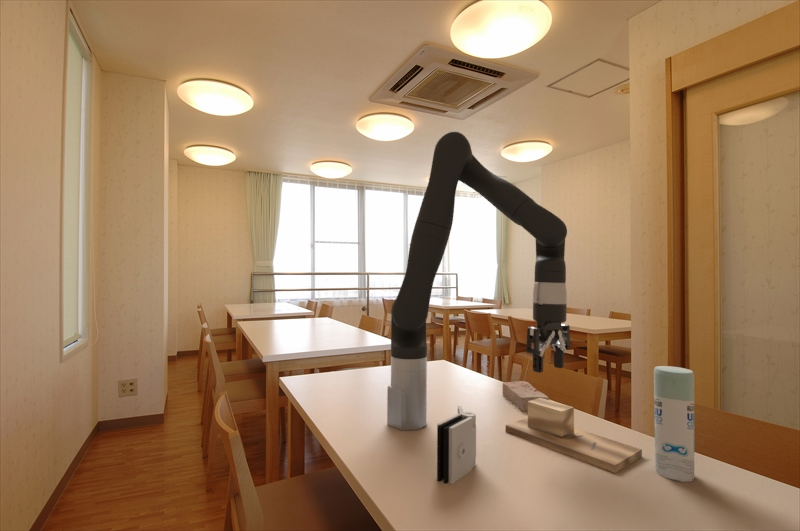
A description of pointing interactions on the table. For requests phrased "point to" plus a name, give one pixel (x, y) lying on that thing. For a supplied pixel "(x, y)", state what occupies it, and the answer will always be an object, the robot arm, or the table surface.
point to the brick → (521, 394)
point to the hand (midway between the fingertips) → (548, 369)
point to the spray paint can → (674, 422)
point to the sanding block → (551, 417)
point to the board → (581, 446)
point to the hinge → (456, 446)
